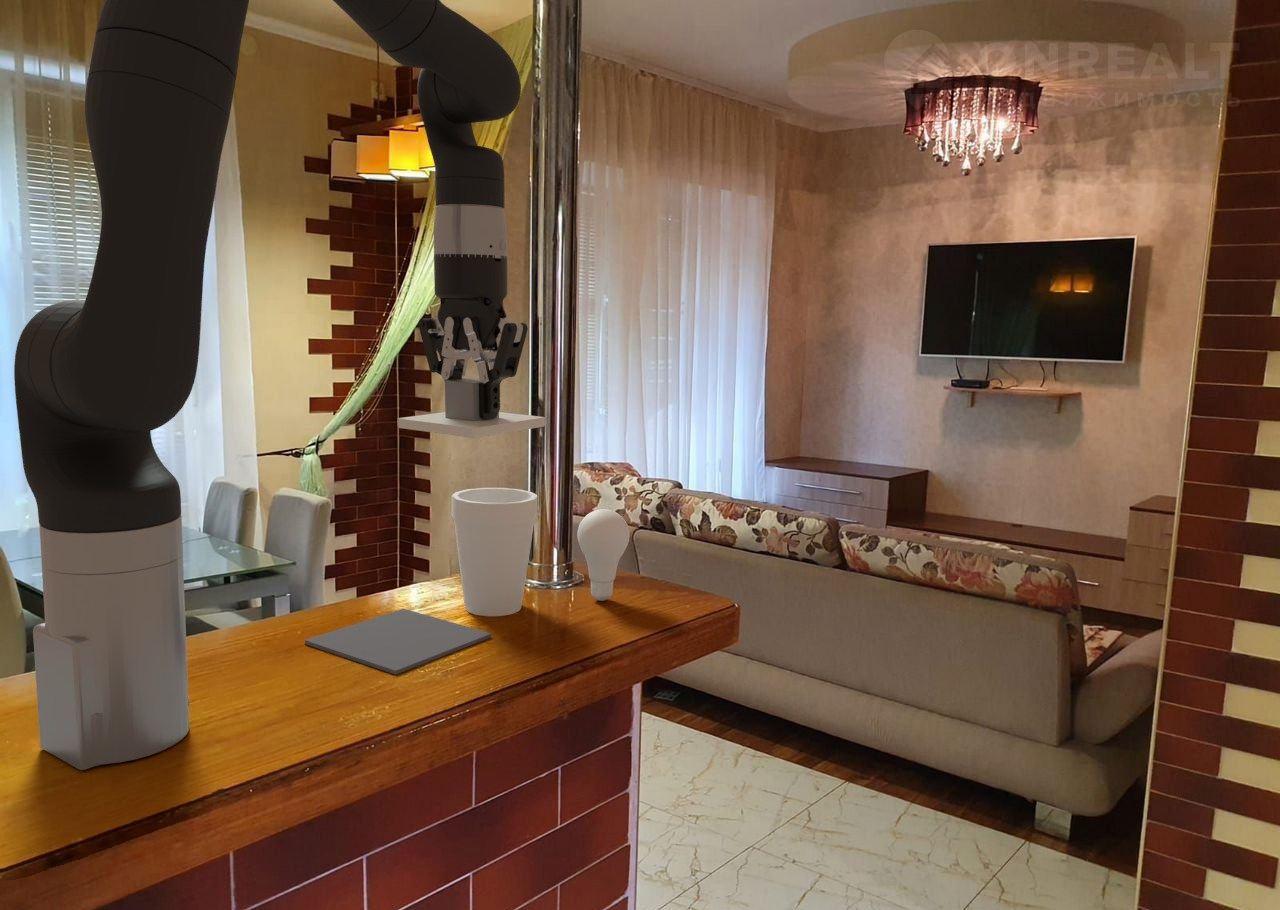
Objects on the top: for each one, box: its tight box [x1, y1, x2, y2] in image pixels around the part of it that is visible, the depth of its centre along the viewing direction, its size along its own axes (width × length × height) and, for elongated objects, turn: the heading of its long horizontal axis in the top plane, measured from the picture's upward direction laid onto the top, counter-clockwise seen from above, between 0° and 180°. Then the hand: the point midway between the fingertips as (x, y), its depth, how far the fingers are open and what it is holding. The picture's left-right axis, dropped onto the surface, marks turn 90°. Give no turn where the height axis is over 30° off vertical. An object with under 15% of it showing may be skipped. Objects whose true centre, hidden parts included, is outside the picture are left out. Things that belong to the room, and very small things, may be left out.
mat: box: [304, 608, 492, 676], centre depth 96 cm, size 13×13×1 cm
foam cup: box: [451, 487, 538, 617], centre depth 106 cm, size 10×9×13 cm
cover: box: [397, 377, 546, 439], centre depth 101 cm, size 11×11×5 cm
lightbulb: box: [576, 508, 630, 602], centre depth 110 cm, size 6×6×11 cm
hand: (472, 415), depth 101 cm, fingers closed on cover, 4 cm apart
